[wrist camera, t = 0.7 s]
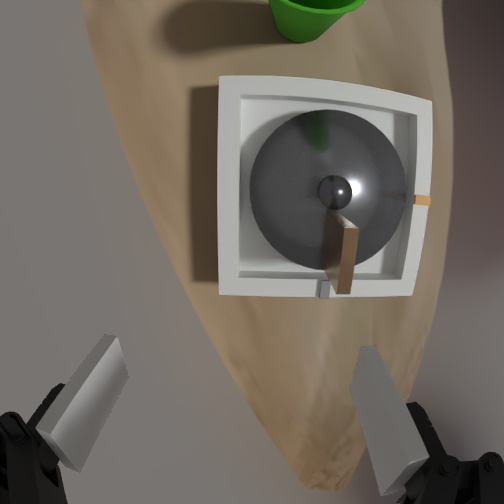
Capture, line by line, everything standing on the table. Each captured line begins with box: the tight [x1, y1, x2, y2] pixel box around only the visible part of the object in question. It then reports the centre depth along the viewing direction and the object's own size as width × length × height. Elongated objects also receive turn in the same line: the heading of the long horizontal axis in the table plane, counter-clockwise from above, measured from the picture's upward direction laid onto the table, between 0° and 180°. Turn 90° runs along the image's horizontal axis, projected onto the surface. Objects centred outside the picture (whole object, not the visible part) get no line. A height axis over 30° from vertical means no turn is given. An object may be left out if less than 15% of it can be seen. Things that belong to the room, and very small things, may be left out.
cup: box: [268, 0, 365, 43], centre depth 19 cm, size 9×9×11 cm
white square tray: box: [217, 76, 432, 299], centre depth 28 cm, size 22×22×4 cm
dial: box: [249, 109, 406, 294], centre depth 24 cm, size 16×16×8 cm
